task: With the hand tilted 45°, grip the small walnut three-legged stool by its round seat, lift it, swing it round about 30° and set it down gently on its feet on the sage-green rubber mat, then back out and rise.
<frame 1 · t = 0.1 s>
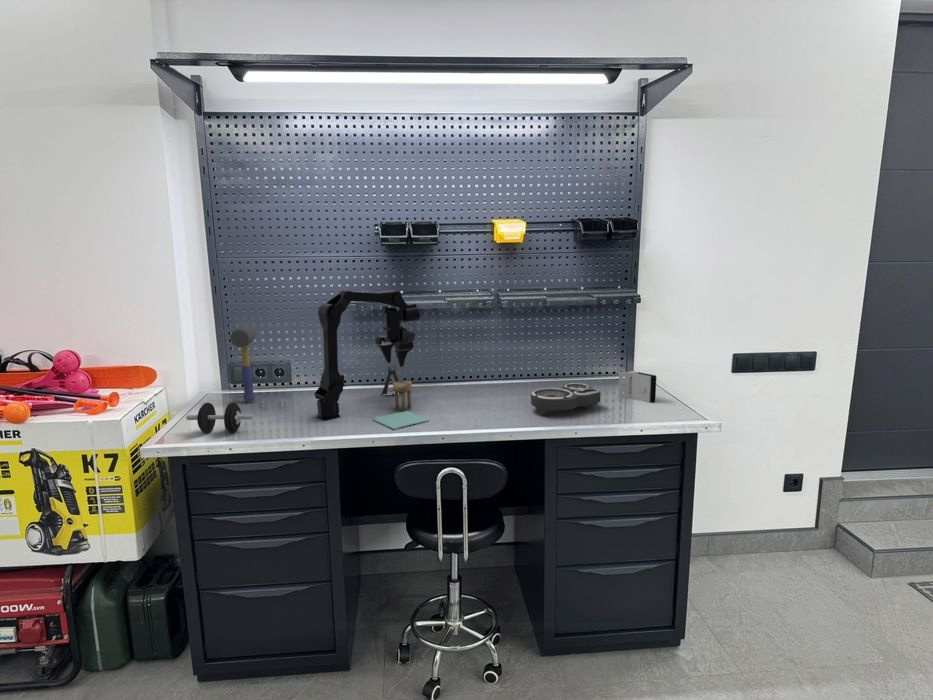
hand: (395, 364, 215), 15 cm above the workbench, tool pointing down, fingers open, 9 cm apart
dumbbell: (221, 432, 187), on the workbench
hinge: (636, 399, 216), on the workbench
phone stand: (393, 394, 231), on the workbench
rubber mallet: (249, 402, 222), on the workbench
rubber mat: (400, 420, 195), on the workbench
motorcycle dashboard: (564, 410, 205), on the workbench
walnut stool: (403, 409, 208), on the workbench
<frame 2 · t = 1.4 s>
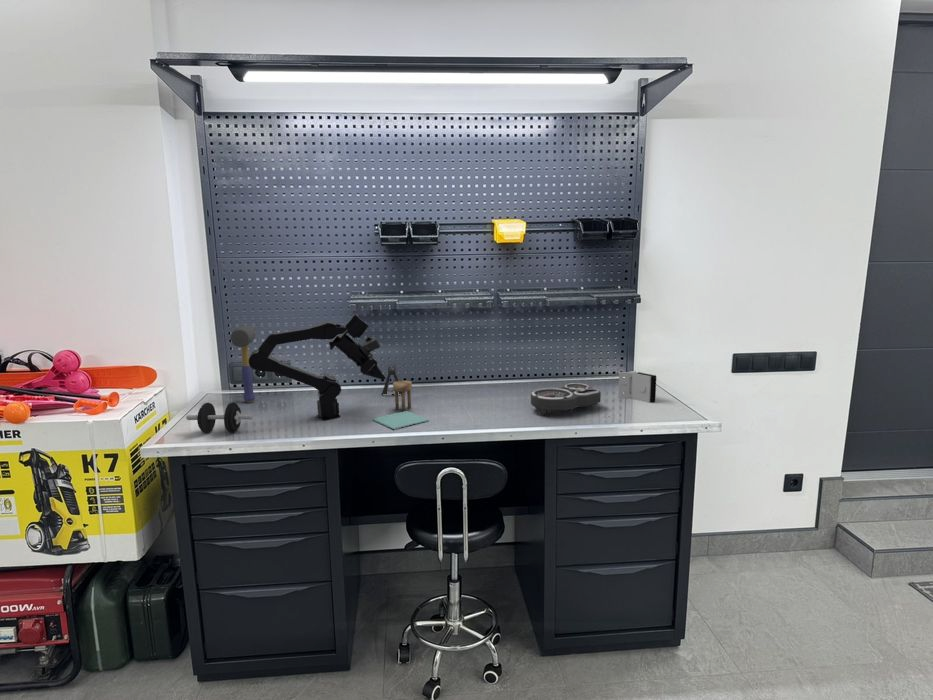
hand: (382, 376, 204), 13 cm above the workbench, tool tilted 45°, fingers open, 9 cm apart
nothing on the workbench moved.
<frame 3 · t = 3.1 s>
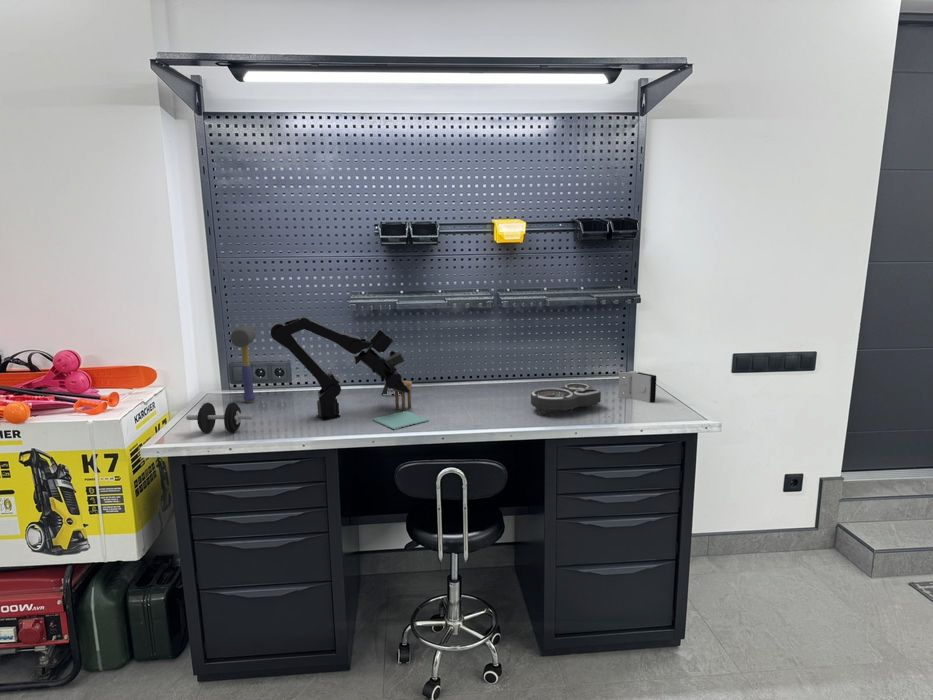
hand: (406, 389, 207), 7 cm above the workbench, tool tilted 45°, fingers closed on walnut stool, 7 cm apart
walnut stool: (403, 409, 208), on the workbench, touching gripper
everything else where it was.
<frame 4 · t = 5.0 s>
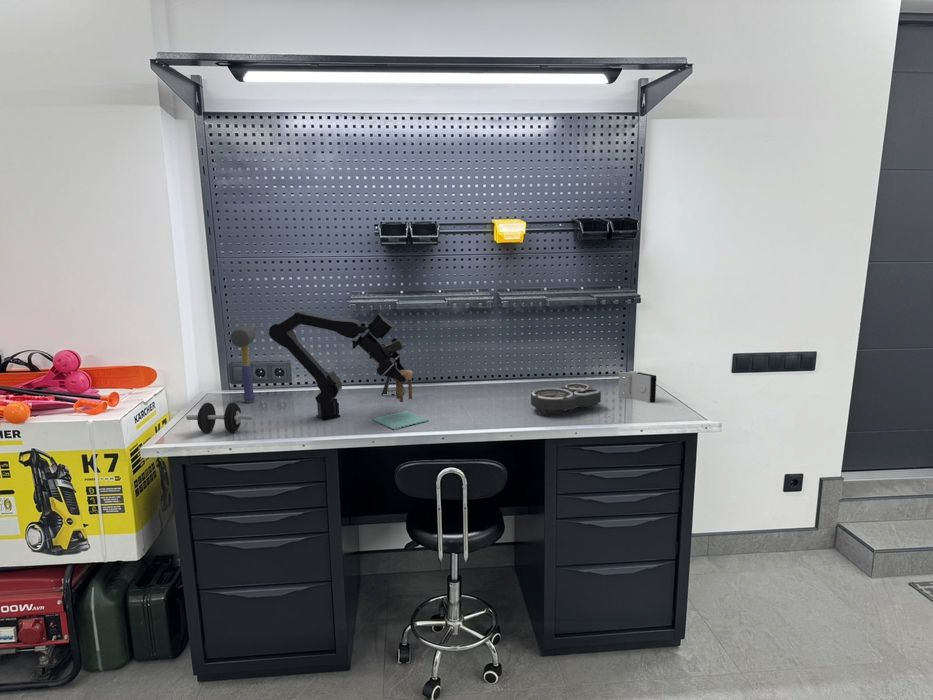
hand: (406, 378, 198), 13 cm above the workbench, tool tilted 45°, fingers closed on walnut stool, 7 cm apart
walnut stool: (403, 399, 199), point 6 cm above the workbench, touching gripper
everything else where it was.
when the fingers open (9 cm above the workbench, at t = 7.1 s): walnut stool stays where it is, resting on rubber mat.
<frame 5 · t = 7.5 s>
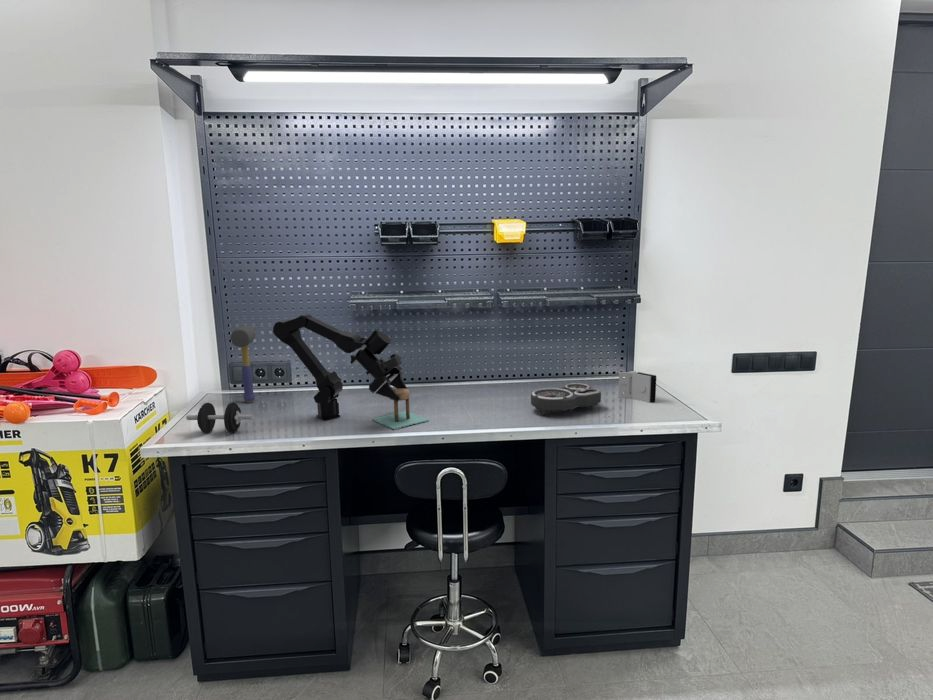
hand: (403, 396, 193), 9 cm above the workbench, tool tilted 45°, fingers open, 9 cm apart
walnut stool: (400, 419, 195), point 1 cm above the workbench, touching rubber mat
everything else where it was.
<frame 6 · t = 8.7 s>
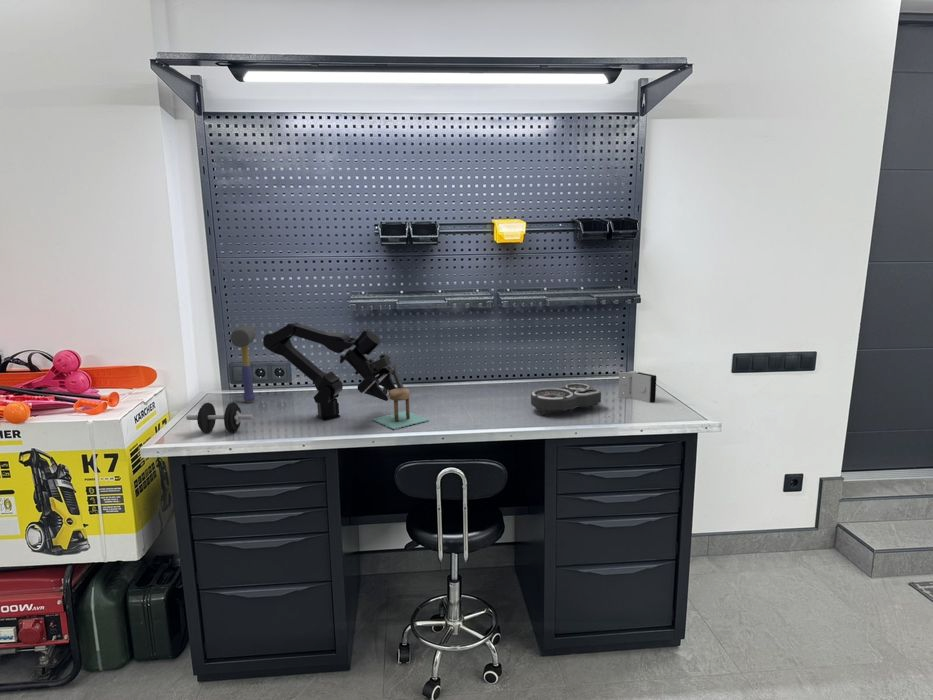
hand: (392, 396, 194), 9 cm above the workbench, tool tilted 45°, fingers open, 9 cm apart
nothing on the workbench moved.
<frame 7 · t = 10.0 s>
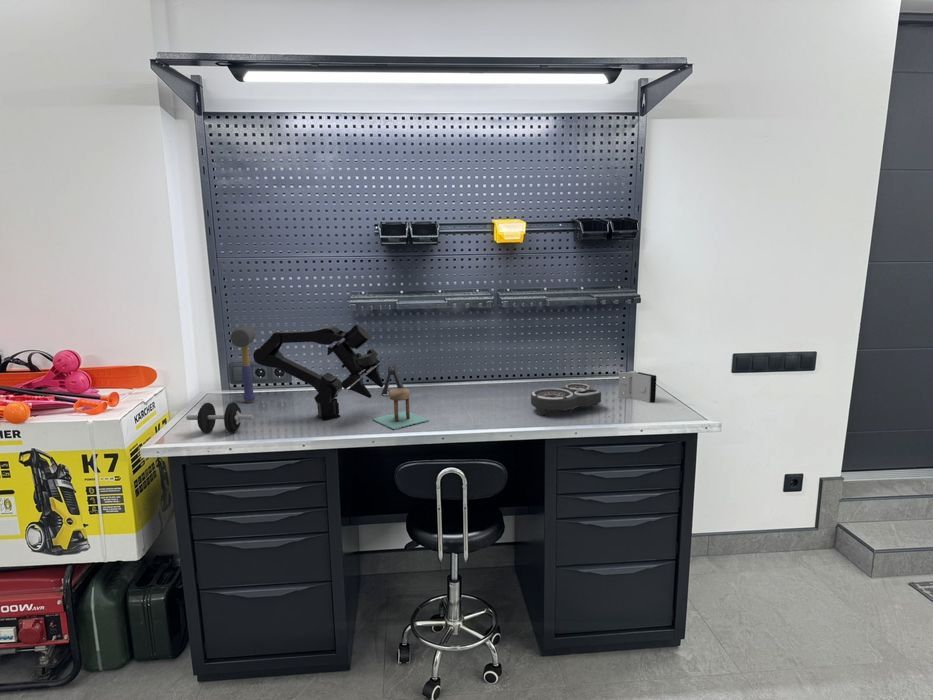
hand: (376, 391, 197), 9 cm above the workbench, tool tilted 40°, fingers open, 9 cm apart
nothing on the workbench moved.
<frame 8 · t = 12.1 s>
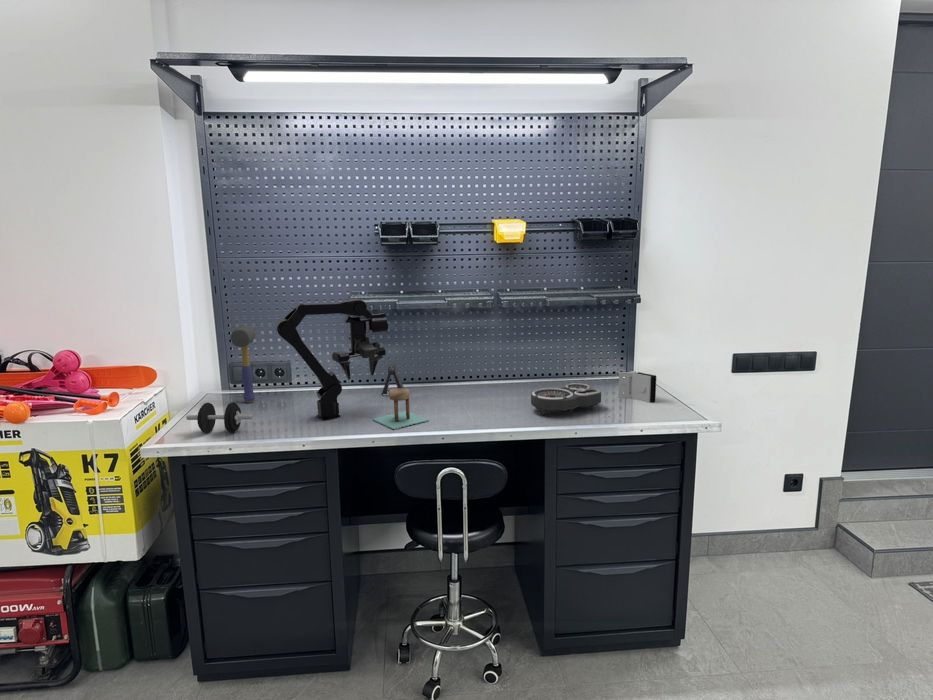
hand: (360, 377, 204), 13 cm above the workbench, tool pointing down, fingers open, 9 cm apart
nothing on the workbench moved.
at the end: walnut stool inside the target area on the rubber mat (0.1 cm from its centre), point 0.6 cm above the rubber mat's base; walnut stool tilted 0°; the gripper is holding nothing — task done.
